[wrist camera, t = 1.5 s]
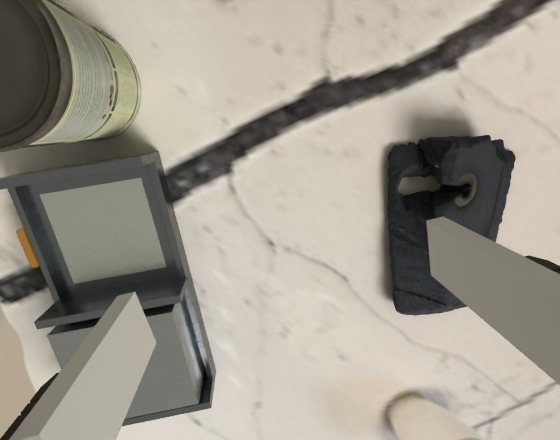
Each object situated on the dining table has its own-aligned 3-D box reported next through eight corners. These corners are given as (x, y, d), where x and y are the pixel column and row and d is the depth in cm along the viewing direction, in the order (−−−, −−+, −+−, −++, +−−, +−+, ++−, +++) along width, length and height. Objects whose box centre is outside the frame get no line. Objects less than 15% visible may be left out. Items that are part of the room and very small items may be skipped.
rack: (11, 175, 32) (-42, 186, 26) (158, 151, 33) (139, 157, 27) (100, 393, 40) (75, 439, 34) (216, 370, 41) (210, 411, 35)
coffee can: (61, 154, 32) (-74, 175, 19) (5, 44, 29) (-204, -28, 15) (159, 124, 32) (96, 122, 19) (115, 10, 29) (1, -89, 16)
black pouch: (370, 310, 41) (385, 332, 37) (386, 134, 35) (407, 135, 31) (480, 304, 43) (508, 325, 38) (515, 134, 37) (553, 135, 32)
